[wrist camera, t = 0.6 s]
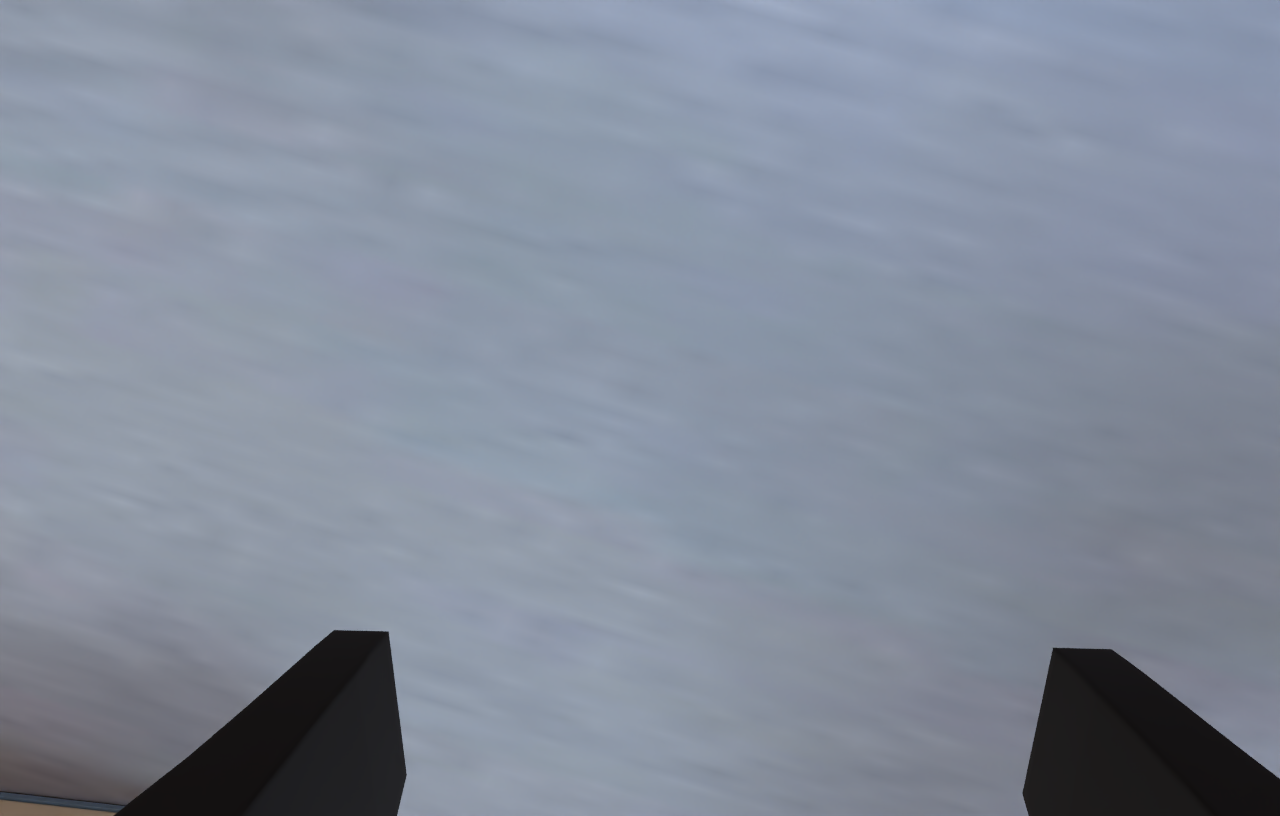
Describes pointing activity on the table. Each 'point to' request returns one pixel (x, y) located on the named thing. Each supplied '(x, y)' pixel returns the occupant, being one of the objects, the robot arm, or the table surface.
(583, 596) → the table surface
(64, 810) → the book stack
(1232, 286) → the table surface
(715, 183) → the table surface
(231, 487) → the table surface
